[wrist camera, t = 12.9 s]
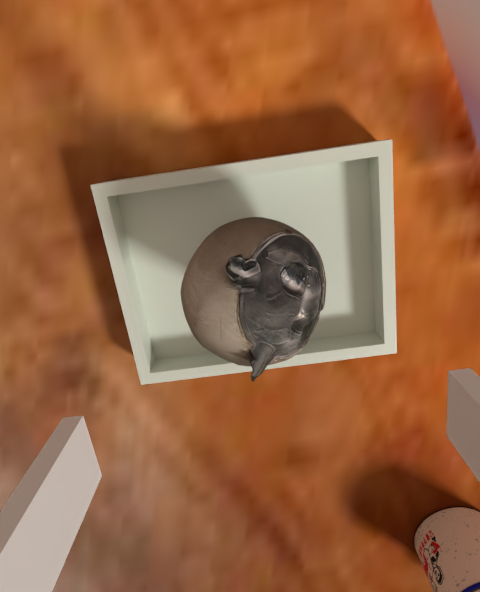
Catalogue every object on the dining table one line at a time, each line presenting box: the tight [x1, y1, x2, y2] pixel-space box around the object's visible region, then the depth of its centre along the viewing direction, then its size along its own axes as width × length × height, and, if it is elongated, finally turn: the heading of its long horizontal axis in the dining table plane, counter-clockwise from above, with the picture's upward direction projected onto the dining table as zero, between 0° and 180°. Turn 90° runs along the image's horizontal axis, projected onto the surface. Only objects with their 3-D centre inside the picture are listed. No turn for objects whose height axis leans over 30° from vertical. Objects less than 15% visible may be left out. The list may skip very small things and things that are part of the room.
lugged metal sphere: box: [180, 217, 326, 382], centre depth 30 cm, size 10×12×10 cm
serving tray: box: [91, 139, 397, 385], centre depth 35 cm, size 22×17×4 cm
